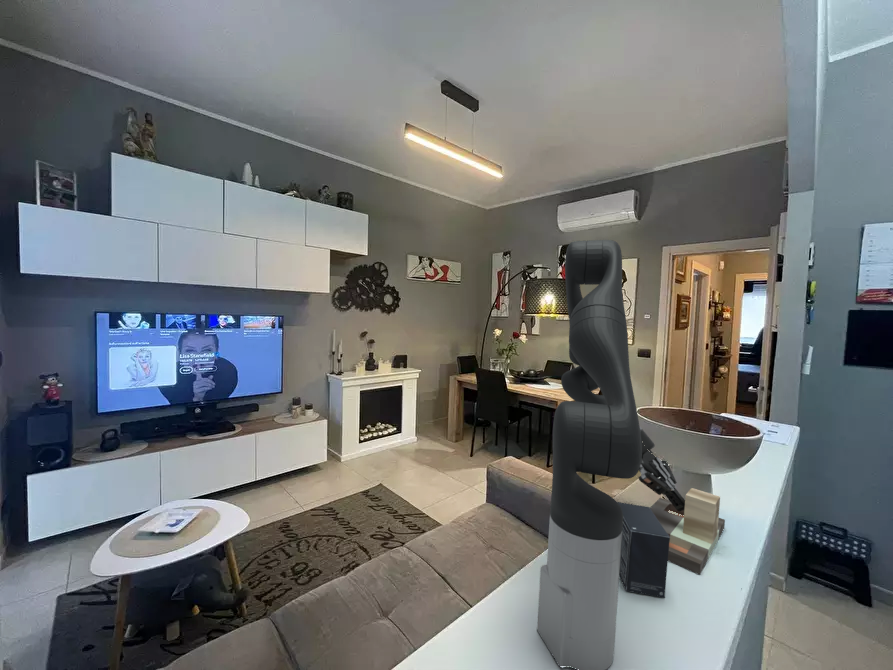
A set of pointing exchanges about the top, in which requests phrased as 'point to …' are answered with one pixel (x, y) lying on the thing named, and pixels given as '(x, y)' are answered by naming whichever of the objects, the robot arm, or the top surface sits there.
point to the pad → (689, 539)
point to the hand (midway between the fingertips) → (683, 508)
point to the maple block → (701, 515)
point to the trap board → (678, 555)
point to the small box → (643, 551)
